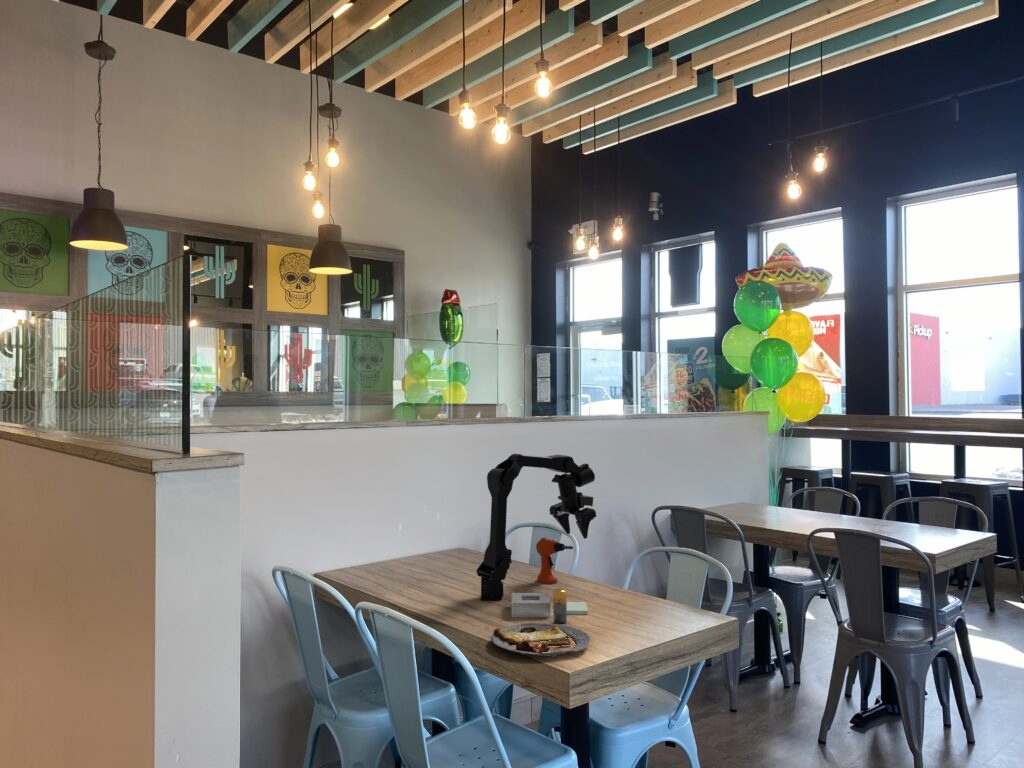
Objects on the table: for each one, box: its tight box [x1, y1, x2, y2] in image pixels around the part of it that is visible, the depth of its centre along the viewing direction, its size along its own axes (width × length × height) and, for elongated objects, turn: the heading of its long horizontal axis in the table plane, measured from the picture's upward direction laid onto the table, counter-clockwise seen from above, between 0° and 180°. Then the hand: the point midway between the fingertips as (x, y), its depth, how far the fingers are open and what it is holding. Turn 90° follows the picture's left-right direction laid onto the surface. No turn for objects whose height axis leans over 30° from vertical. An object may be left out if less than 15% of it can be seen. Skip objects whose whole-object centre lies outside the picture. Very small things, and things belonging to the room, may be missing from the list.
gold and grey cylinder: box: [552, 588, 568, 625], centre depth 214 cm, size 4×4×9 cm
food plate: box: [490, 622, 591, 657], centre depth 196 cm, size 25×23×4 cm
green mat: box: [567, 601, 589, 615], centre depth 227 cm, size 9×9×1 cm
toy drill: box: [535, 537, 574, 585], centre depth 257 cm, size 5×19×15 cm, turn 36°
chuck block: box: [511, 592, 551, 618], centre depth 225 cm, size 11×11×4 cm
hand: (577, 536), depth 260 cm, fingers open, 9 cm apart
